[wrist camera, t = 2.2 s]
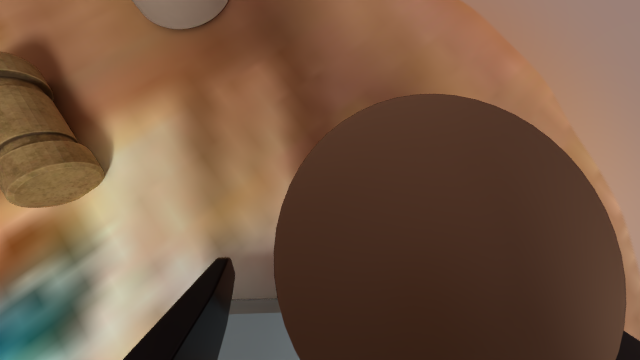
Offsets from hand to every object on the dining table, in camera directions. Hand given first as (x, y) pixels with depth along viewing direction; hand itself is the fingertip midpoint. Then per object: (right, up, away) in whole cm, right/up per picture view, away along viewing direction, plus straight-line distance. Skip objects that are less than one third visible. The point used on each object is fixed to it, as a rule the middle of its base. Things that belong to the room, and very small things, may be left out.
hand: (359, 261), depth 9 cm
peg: (0, -1, +9) cm, 9 cm away
